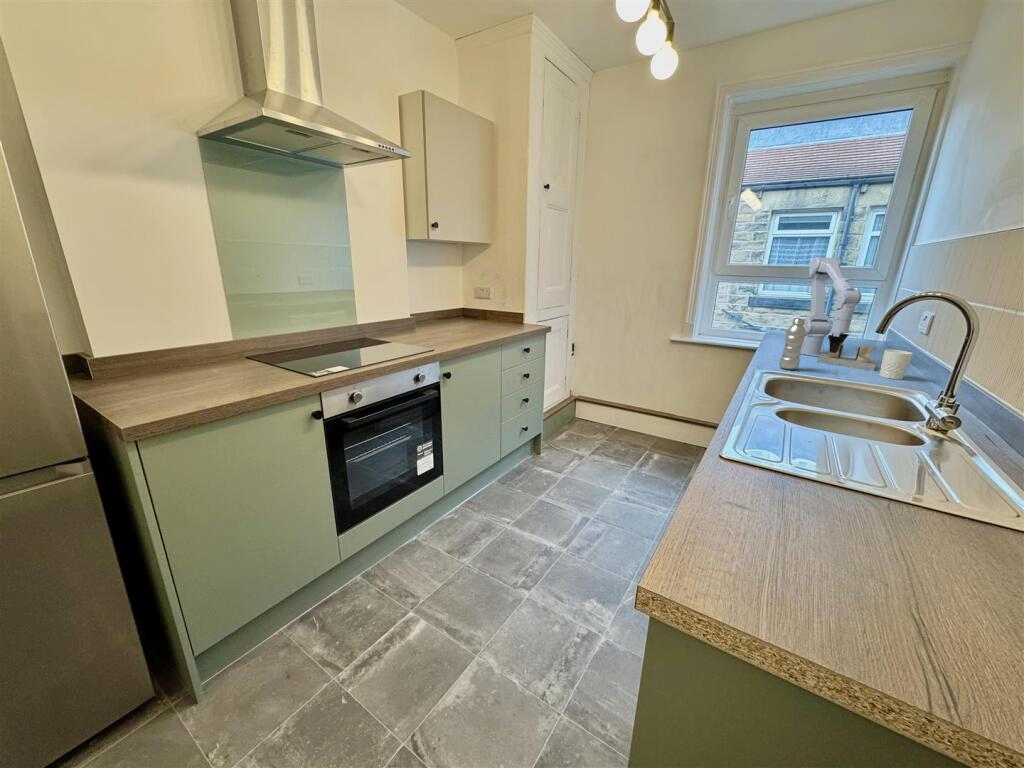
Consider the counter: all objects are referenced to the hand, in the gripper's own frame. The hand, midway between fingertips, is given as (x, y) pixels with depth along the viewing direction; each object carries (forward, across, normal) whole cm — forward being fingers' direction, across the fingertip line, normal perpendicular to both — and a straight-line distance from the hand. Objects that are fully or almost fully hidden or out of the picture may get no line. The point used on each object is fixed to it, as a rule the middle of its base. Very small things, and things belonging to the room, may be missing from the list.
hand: (834, 351), depth 175 cm
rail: (+5, 0, -5) cm, 7 cm away
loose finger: (+3, 0, 0) cm, 4 cm away
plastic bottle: (+5, -29, +10) cm, 31 cm away
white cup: (+5, -11, -20) cm, 23 cm away
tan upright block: (+3, 0, -10) cm, 11 cm away
